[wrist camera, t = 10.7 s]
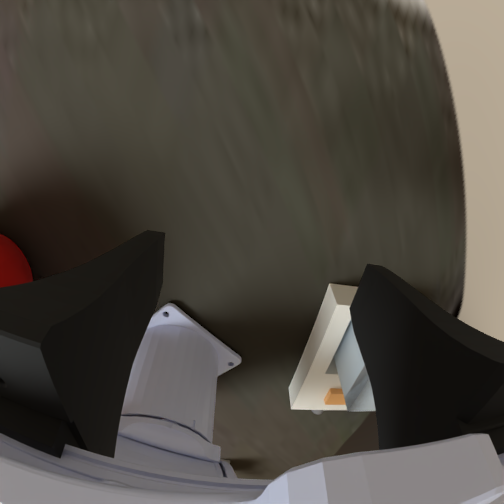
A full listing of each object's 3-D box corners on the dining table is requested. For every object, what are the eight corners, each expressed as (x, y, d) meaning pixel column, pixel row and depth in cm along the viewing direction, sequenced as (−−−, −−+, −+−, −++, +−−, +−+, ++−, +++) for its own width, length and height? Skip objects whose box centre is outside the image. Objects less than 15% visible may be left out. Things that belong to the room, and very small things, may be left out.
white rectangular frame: (347, 403, 30) (353, 427, 27) (282, 402, 29) (284, 427, 27) (409, 293, 23) (424, 317, 21) (329, 283, 23) (339, 310, 20)
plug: (361, 345, 26) (384, 410, 20) (329, 343, 26) (347, 411, 19) (382, 303, 24) (414, 369, 18) (348, 300, 24) (375, 369, 17)
